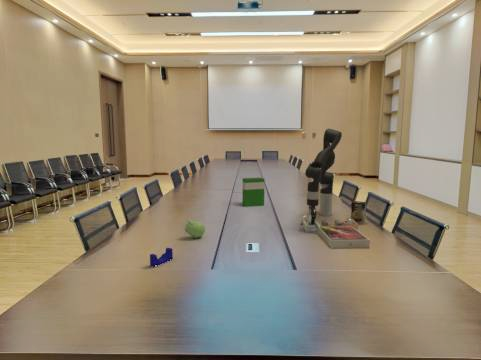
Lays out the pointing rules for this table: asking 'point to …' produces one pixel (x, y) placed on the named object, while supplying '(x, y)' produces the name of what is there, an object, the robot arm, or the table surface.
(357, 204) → the coffee box
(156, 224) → the table surface
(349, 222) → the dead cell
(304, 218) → the cell
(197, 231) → the green round fruit
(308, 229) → the grey piece
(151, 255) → the cable clip
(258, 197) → the hardback book
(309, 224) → the cell
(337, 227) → the product packaging
